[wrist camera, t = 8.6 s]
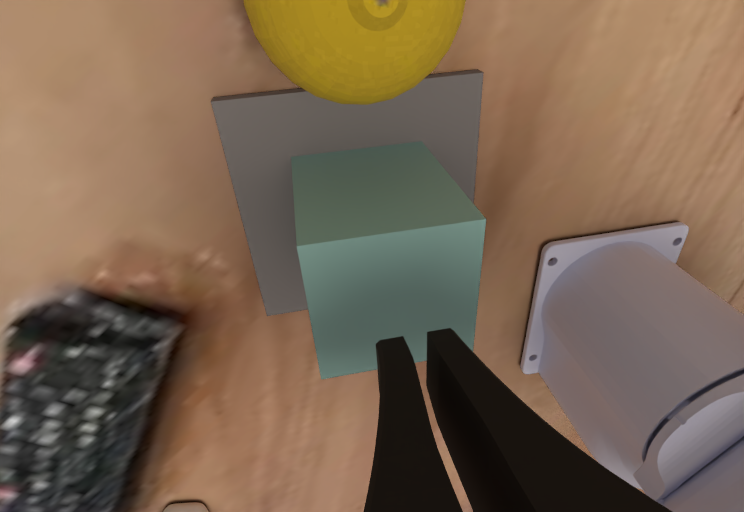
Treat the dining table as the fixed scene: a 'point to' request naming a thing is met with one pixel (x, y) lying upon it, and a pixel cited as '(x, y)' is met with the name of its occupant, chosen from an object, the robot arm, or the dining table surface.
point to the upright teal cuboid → (384, 252)
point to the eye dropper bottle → (186, 507)
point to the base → (330, 134)
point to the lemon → (355, 43)
